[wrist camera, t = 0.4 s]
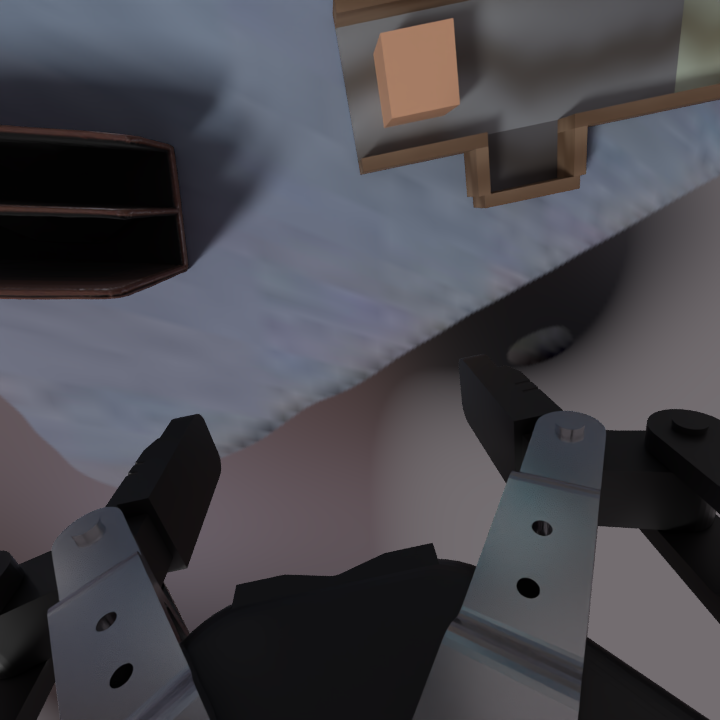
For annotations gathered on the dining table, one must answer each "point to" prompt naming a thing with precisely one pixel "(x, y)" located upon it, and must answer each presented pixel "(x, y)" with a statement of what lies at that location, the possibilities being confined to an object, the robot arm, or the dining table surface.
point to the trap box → (530, 82)
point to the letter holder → (87, 214)
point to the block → (417, 72)
